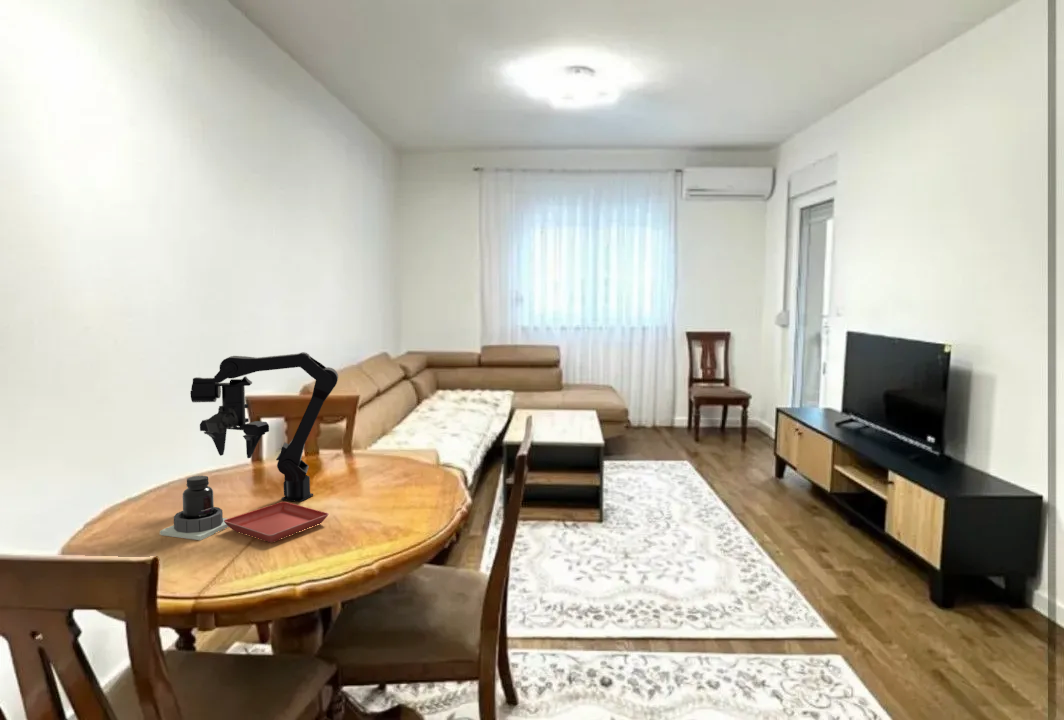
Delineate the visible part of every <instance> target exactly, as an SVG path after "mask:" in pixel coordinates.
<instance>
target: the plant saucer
mask: <svg viewBox="0 0 1064 720" xmlns="http://www.w3.org/2000/svg"><path fill="white" fill-rule="evenodd" d="M328 516H329V513H328V512H325V511H321V510H317V509H315V508H310V507H307V506H303V505H299V504H296V503H291V502H287V501H280V502H278V503H274V504H271V505H270V504H269V505H267V506H264V507H260V508H259V509H254V510H252V511H248V512H245V513H242V514H239V515H236V516H233V517H229V518H227V519H226V520H224V522H225V523H226V524H227V525H228V526H229V527H228V528H230V529H231V530H232V531H233V532H235V531H236V532H235V533H238V532H240V533H239V534H241V533H243V534H242V535H244V534H247V535H250V536H249V537H251V536H253V537H252V538H254V537H256V538H255V539H257V538H259V539H258V540H260V539H262V540H261V541H263V540H265V541H264V542H266V541H268V542H267V543H270V542H273V543H275V542H274V541H276V542H278V541H280V540H279V539H281V538H284V537H286V536H289V535H292V534H294V533H296V532H299V531H302V530H304V529H307V528H309V527H312V526H315V525H317V524H320V523H321V524H322V523H323V522H324V521H325V519H327V517H328ZM321 524H320V525H321ZM315 527H316V526H315ZM302 532H303V531H302ZM247 535H246V536H247ZM294 535H295V534H294ZM292 536H293V535H292ZM289 537H290V536H289ZM286 538H287V537H286ZM284 539H285V538H284ZM277 540H278V541H277ZM281 540H282V539H281Z"/></svg>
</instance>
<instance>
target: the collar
mask: <svg viewBox="0 0 1064 720" xmlns="http://www.w3.org/2000/svg"><path fill="white" fill-rule="evenodd" d="M223 518H224V515H223V509H222V508H221V507H218V506H214V515H212V516H209V517H205V518H201V519H189V520H188V519H183V510H181V511H179V512H177V513H175V514H174V516H173V525H174V529H175V530H176V531H177V532H182V533H195V532H203V531H207V530H211V529H214V528H216V527H218V526H220V525H221V524H222V522H223Z"/></svg>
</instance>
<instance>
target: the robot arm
mask: <svg viewBox="0 0 1064 720" xmlns="http://www.w3.org/2000/svg"><path fill="white" fill-rule="evenodd" d="M292 368H293V369H294V368H301V369H302V370H303V371H304V372H305V373H306V374H308V375H309V376H310V377H311V378H312V379H314V380H315V382H314V386H313V391H312V396H311V399H310V400H309V403H308V405H307V407H306V409H305V411H304V413H303V416H302V419H301V420H300V422H299V425H298V427H297V429H296V431H295V433H294V436H293V438H292V439H291V441H290V442H289V443H287V442H284V443H283V445H282V446H281V448H280V452H279V453H278V456H277V458H276V461H277V464H276V467H277V470H278V472H279V473H281V474H282V475H284V480H283V496H282V497H281V501H282V500H283V501H291V502H298V503H299V502H302V501H305V500H307V499H309V498H311V497H313V496H314V493H311V481H310V479H311V477H310V475H307V473H308V470H309V467H310V466H309V465H308V464H307V463H306V462H305V461H304V460H303V459H302V457H303V453H304V449H305V444H306V442H307V440H308V437H309V435H310V433H311V431H312V429H313V427H314V425H315V422H316V420H317V418H318V415H319V414H320V411H321V409H322V407H323V405H324V402H325V401H326V400H327V398H328V397H329V395H330V394H331V393H332V392H333V390H334V389H335V387H336V385H337V383H338V380H339V374H338V372H337V371H336V370H335V369H334V368H333V367H326V366H325V365H323V364H322V363H321V362H319V361H318V360H316V359H315V358H313V356H310V354H309V353H308V352H305V351H304V352H299V353H292V354H282V355H270V356H262V357H255V356H253V357H252V356H245V355H244V356H242V355H231V356H228V357H226V358H225V359H223V360H221V362H220V364H219V371H218V372H217V373H216V374H215V375H214V376H213V377H193V378H192V384H191V390H190V400H191V402H192V403H216V402H217V399H220V398H221V402H222V403H221V405H219V406H218V408H217V409H218V412H217V413H215V414H214V415H212V416H211V417H209V418H206V419H203V420H201V422H200V424H199V431H200V432H203V434H204V435H207V436H209V437H210V438H211V440H212V442H213V444H214V445H215V448H216V450H217V453H218V455H219V456H223V455H224V454H225V449H226V440H227V432H228V431H227V430H237V431H243V435H242V437H243V439H244V440H245V447H246V448H245V449H246V457H247V459H251V458H252V456H253V454H254V451H255V450H256V447H257V445H258V443H259V442H260V440H261V438H262V437H263V436H264V435H265V434H266V433H268V432H270V425H269V423H268V422H267V421H261V420H255V421H251V422H249V421H250V420H249V419H250V418H247V417H246V409H248V408H249V404H248V403H246V397H245V395H246V392H245V391H246V390H245V386H247V387H250V386H251V385H252V384H253V381H251V380H250V379H249V378H248V377H247V375H250V374H253V373H256V372H263V371H265V372H266V371H272V370H273V371H274V370H275V371H276V370H283V369H292ZM239 377H240V378H239ZM241 377H242V378H241ZM236 378H237V379H236ZM238 378H239V379H238ZM227 379H230V380H229V382H223V381H226V380H227Z"/></svg>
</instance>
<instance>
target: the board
mask: <svg viewBox="0 0 1064 720" xmlns="http://www.w3.org/2000/svg"><path fill="white" fill-rule="evenodd" d="M226 519H228V518H227V517H226V518H225V517H223V522H222V524H221V525H220V526H218V527H216V528H214V529H211V530H207V531H203V532H195V533H182V532H177V531H176V530H175V529H174V524H173V525H171V526H168V527H165V528H164V529H163V528H162V530H159V536H165V537H173V538H179V539H181V538H182V539H187V540H197V541H202V540H204V539H206V538H209V537H211V536H213V535H215V534H217V533H219V532H221V531H223V530H225V528H226V529H227V527H228V528H230V527H229V526H228V525H227V524H226V523H225V522H224V520H226ZM222 529H223V530H222ZM220 530H221V531H220ZM218 531H219V532H218ZM216 532H217V533H216ZM214 533H215V534H214Z"/></svg>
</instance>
